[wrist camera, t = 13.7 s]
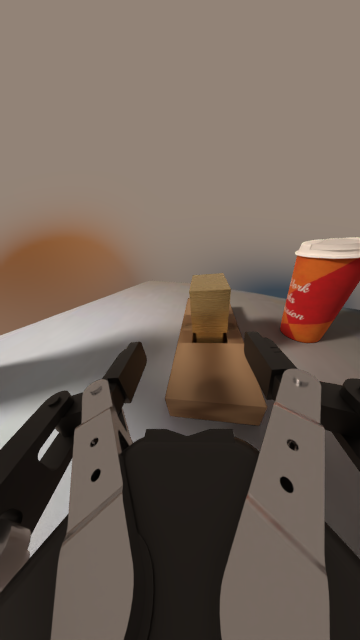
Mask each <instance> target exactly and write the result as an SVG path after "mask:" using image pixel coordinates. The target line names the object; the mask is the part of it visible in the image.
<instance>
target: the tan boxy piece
mask: <svg viewBox="0 0 360 640" xmlns="http://www.w3.org/2000/svg"><path fill="white" fill-rule="evenodd" d="M230 293H231V289H230V287H229V285H228V282H227V280H226V278H225V276H224V274H223V273H220V274H206V275H193V277H192V281H191V286H190V291H189V294H190V307H191V320H192V333H196V337H197V343H222V340H223V333H227V328H228V317H229V305H230Z"/></svg>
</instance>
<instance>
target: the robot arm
mask: <svg viewBox="0 0 360 640" xmlns="http://www.w3.org/2000/svg"><path fill="white" fill-rule="evenodd" d="M244 354H245V357H246V360H247V362H248V364H249V366H250V368H251V369H252V371H253V373H254V375H255V377H256V379H257V381H258V383H259V385H260V387H261V389H262V391H263V393H264V395H265V397H266V399H267V400H271V399H274V401H275V402H274V405H273V409H272V412H271V416H270V419H269V423H268V426H267V430H266V433H265V436H264V440H263V443H262V447H261V450H260V452H259V451H258V450H257V449H256V448H254V447H253V446H252V445H250V444H249V443H247V442H245V441H243V440H241V439H239V438H236V437H234V435H233V431H232V429H209V430H206V431H203V432H199V433H196V434H193V435H190V436H185V435H182V434H179V433H176V432H173V431H170V430H167V429H146V433H145V437H143V438H141V439H139V440H137V441H135V442H134V443H133V442H132V439H131V437H130V433H129V430H128V426H127V422H126V418H125V415H124V411H123V408H122V406H123V404H124V403H131V401H132V398H133V396H134V393H135V391H136V388H137V386H138V383H139V381H140V378H141V376H142V373H143V371H144V368H145V366H146V362H147V358H146V355H145V352H144V349H143V346H142V343H141V342H134V343H130V344H129V346H128V347H127V349H125V350H124V351H122V352H121V353H120V354H119V355H118V357H117V358H116V360H115V361H114V363H113V364H112V365H111V367H110V368H109V370H108V371H107V373H106V374H105V375H104V377H103V378H102V379H101V380H97V381H95V382H93V383H92V384H90V385H89V386H88V387H87V388H86V389H85V391H84V392H82V393H79V394H76V395H73V396H71V395H70V393H69V392H68V391H61V392H58V393H56V394H54V395H53V396H51V397H50V398H48V399H47V400H46V401H45V402H44V403H43V404H42V405H41V406H40V407H39V408H38V410H37V411H36V412H35V413H34V414H33V415H32V416H31V417H30V418H29V419H28V420H27V421H26V423H25V424H24V425H23V426H22V427H21V428H20V429H19V430H18V431H17V432H16V433H15V435H14V436H13V437H12V438H11V439H10V440H9V441H8V442H7V443H6V444H5V445H4V446H3V448H2V449H1V450H0V640H360V559H359V558H358V557H357V556H356V554H355V553H354V552H353V551H352V550H351V549H350V548H349V547H348V546H347V545H346V544H345V543H344V542H343V540H342V539H341V538H340V537H339V536H338V535H337V534H336V533H335V532H334V531H333V530H332V529H331V528H330V526H329V525H328V524H327V523H326V522H325V521H324V510H325V430H329V431H331V432H332V433H333V435H334V436H335V438H336V439H337V441H338V442H339V443H340V445H341V446H342V448H343V449H344V450H345V452H346V453H347V455H348V456H349V457H350V459H351V460H352V462H353V463H354V464H355V466H356V467H357V469H358V470H359V472H360V379H347V380H345V382H344V384H343V386H342V385H337V384H331V383H325V382H321V381H318V379H317V378H316V377H314V376H313V375H311V374H310V373H308V372H306V371H303V370H299V369H297V368H296V367H295V365H294V364H293V363H292V362H291V361H290V360H289V359H288V358H287V356H286V355H285V354H284V353H283V352H282V351H281V350H280V349H279V348H278V346H277V345H276V344H275V343H274V342H273V341H271V340H269V339H268V338H262V337H261V335H260V334H259V333H258V332H257V331H255V332H246V333H245V338H244ZM54 429H56V430H57V431H58V432H59V434H58V435H57V436H56V438H55V439H54V441H53V442H52V444H51V445H50V447H49V448H48V450H47V451H46V453H45V454H44V456H43V457H42V458H41V460H40V461H39V460H38V453H39V450H40V449H41V447H42V446H43V444H44V443H45V441H46V440H47V439H48V437H49V436H50V434H51V433H52V432H53V430H54ZM72 457H73V459H72ZM71 459H72V473H71V487H70V501H69V514H68V515H67V516H66V517H65V518H64V519H63V521H62V522H61V523H60V524H59V525H58V526H57V527H56V529H55V530H54V531H53V532H52V533H51V534H50V536H49V537H48V538H47V539H46V540H45V541H44V542H43V544H42V545H41V546H40V547H39V548H38V549H37V550H36V552H35V553H34V554H33V555H32V556H31V557H30V552H29V551H28V547H29V543H30V538H31V534H32V532H33V530H34V528H35V527H36V525H37V523H38V521H39V519H40V517H41V515H42V514H43V512H44V510H45V508H46V506H47V504H48V502H49V500H50V499H51V497H52V495H53V493H54V491H55V489H56V487H57V485H58V484H59V482H60V480H61V478H62V476H63V474H64V472H65V470H66V469H67V467H68V465H69V463H70V461H71ZM29 557H30V558H29Z"/></svg>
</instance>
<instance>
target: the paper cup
mask: <svg viewBox="0 0 360 640" xmlns="http://www.w3.org/2000/svg"><path fill="white" fill-rule="evenodd" d="M295 254H296V255H297V259H296V263H295V267H294V271H293V275H292V280H291V283H290V288H289V292H288V296H287V300H286V304H285V308H284V313H283V317H282V322H281V327H280V330H281V332H282V333H283V334H284V335H285V336H287V337H288V338H290V339H293V340H295V341H299V342H304V343H314V342H318V341H319V340H320V339H321V338H322V336H323V335H324V334H325V332H326V331H327V329H328V328H329V326H330V325H331V324H332V322H333V321H334V319H335V318H336V316H337V315H338V313H339V312H340V310H341V309H342V307H343V306H344V304H345V302H346V301H347V300H348V298H349V296H350V295H351V293H352V292H353V290H354V289H355V287H356V286H357V284H358V283H359V281H360V237H351V238H331V239H324V240H323V239H319V240H311V241H306V242H303V243H302V244H301V247H300V249H299V250H298V251H296V252H295Z"/></svg>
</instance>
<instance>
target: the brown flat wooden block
mask: <svg viewBox="0 0 360 640" xmlns="http://www.w3.org/2000/svg"><path fill="white" fill-rule="evenodd" d="M165 400H166V404H167V407H168V410H169V414H170V416H175V417H184V418H193V419H203V420H212V421H221V422H230V423H239V424H248V425H257V426H259V425H260V423H261V421H262V418H263V416H264V413H265V411H266V409H267V406H266V403H265V400H264V397H263V394H262V392H261V389H260V386H259V383H258V381H257V379H256V377H255V375H254V373H253V371H252V369H251V368H250V366H249V364H248V362H247V360H246V357H245V354H244V342H243V339H242V336H241V333H240V330H239V328H238V325H237V322H236V319H235V317H234V314H233V311H232V308H231V305H229V317H228V328H227V333H223V340H222V343H197V337H196V333H192V320H191V307H190V298H188V301H187V305H186V310H185V314H184V318H183V323H182V327H181V331H180V335H179V340H178V344H177V348H176V353H175V357H174V361H173V366H172V370H171V374H170V379H169V383H168V387H167V391H166V396H165Z"/></svg>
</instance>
